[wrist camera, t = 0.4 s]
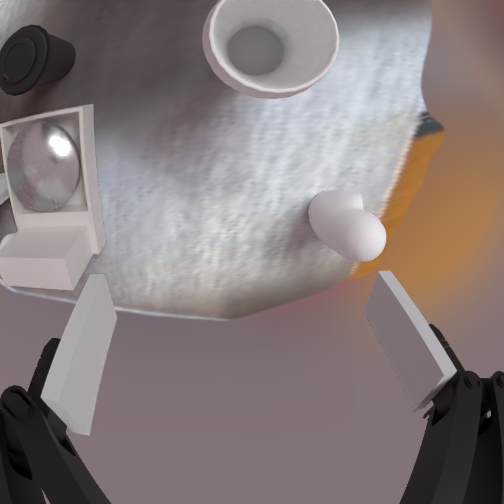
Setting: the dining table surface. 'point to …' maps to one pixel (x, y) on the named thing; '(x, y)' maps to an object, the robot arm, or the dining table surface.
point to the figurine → (346, 225)
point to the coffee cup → (33, 59)
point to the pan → (43, 166)
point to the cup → (270, 45)
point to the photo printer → (3, 188)
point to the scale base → (55, 214)
